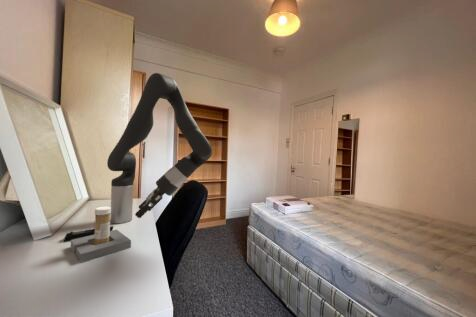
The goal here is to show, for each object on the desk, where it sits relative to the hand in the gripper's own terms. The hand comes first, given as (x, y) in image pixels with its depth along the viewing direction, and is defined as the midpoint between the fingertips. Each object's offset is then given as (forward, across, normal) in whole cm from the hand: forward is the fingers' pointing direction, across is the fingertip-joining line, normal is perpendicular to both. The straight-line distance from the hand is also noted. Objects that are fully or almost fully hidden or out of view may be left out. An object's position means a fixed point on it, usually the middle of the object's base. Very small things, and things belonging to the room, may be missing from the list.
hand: (138, 212), depth 72 cm
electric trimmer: (+22, -11, -5) cm, 25 cm away
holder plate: (+16, +1, 0) cm, 16 cm away
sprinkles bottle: (+16, +1, 0) cm, 16 cm away
